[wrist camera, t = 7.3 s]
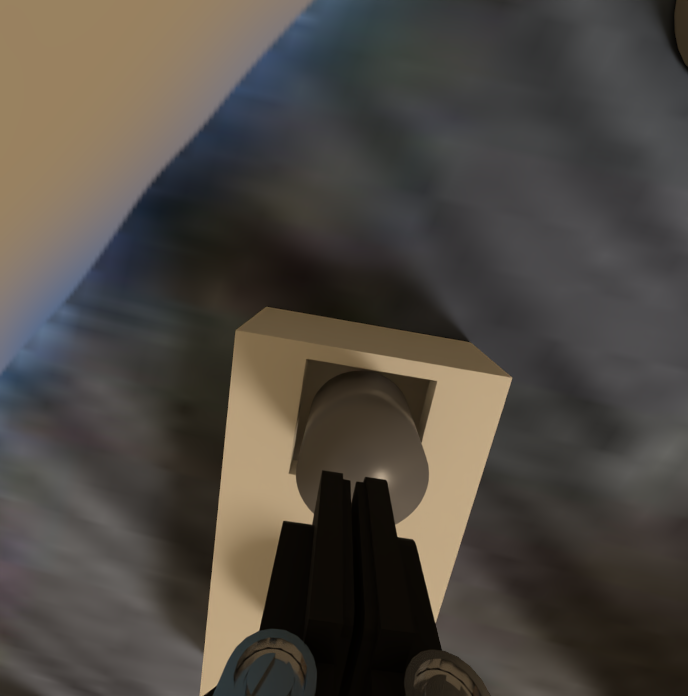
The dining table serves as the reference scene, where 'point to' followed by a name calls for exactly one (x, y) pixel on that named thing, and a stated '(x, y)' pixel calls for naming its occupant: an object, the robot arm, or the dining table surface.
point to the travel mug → (682, 28)
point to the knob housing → (287, 435)
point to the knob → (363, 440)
